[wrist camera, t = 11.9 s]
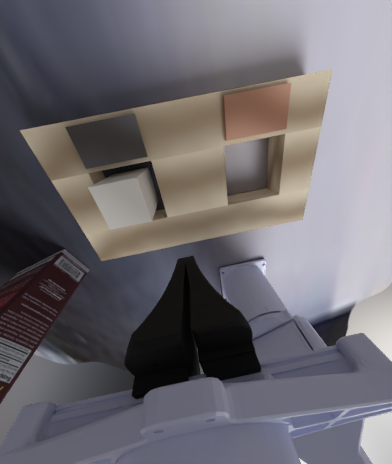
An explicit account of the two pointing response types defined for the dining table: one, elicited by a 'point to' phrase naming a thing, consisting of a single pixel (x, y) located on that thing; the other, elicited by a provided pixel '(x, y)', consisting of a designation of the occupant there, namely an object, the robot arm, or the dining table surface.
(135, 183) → the plug
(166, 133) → the socket block
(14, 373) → the supplement box
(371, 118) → the dining table surface
